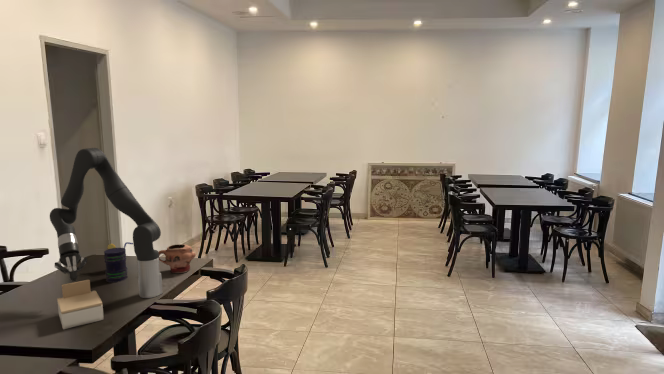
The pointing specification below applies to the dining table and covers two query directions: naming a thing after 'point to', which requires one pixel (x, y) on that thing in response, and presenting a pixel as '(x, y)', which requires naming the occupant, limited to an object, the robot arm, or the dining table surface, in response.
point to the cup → (115, 247)
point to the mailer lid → (78, 297)
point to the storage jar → (115, 264)
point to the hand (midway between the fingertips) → (74, 280)
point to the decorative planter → (178, 257)
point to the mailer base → (81, 316)
